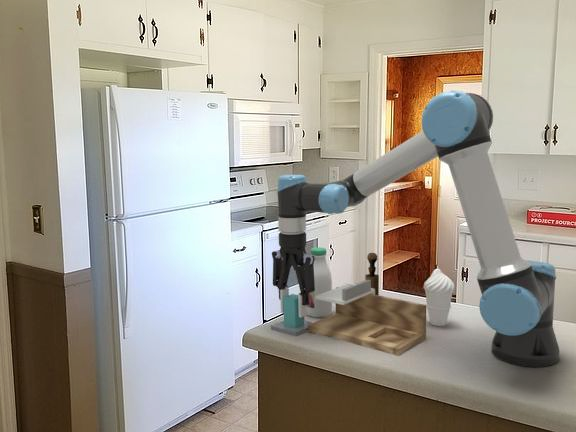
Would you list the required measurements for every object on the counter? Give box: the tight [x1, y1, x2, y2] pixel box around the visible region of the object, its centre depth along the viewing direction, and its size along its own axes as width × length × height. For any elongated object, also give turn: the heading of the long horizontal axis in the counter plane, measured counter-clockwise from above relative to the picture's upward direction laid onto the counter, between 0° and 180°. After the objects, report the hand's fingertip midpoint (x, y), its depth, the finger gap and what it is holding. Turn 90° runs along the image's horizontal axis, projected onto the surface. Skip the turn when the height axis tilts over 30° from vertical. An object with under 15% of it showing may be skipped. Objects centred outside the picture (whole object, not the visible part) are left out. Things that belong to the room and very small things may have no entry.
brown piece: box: [307, 286, 427, 357], centre depth 151 cm, size 28×14×10 cm, turn 49°
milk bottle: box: [306, 247, 333, 318], centre depth 169 cm, size 8×8×20 cm
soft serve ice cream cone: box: [423, 268, 455, 327], centre depth 159 cm, size 8×8×16 cm
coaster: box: [270, 319, 313, 337], centre depth 159 cm, size 9×9×1 cm
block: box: [283, 293, 305, 328], centre depth 158 cm, size 4×4×8 cm
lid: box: [316, 279, 375, 305], centre depth 156 cm, size 9×15×11 cm, turn 139°
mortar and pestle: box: [364, 252, 380, 296], centre depth 171 cm, size 7×6×18 cm
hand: (293, 313), depth 158 cm, fingers open, 6 cm apart
